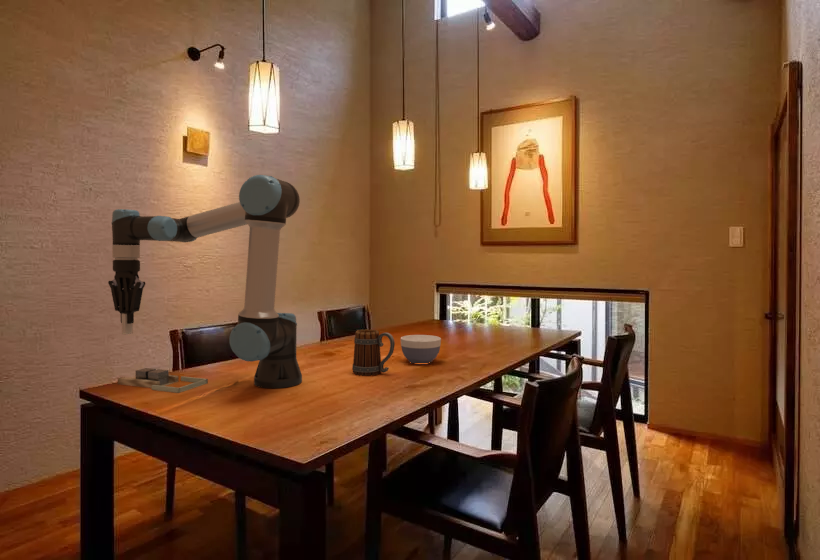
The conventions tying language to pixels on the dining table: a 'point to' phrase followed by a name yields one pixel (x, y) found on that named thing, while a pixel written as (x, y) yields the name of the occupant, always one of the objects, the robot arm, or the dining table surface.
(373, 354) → the mug
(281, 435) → the dining table surface
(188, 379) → the grey rectangular frame
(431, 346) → the bowl
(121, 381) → the slot board
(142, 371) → the chip
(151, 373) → the chip
